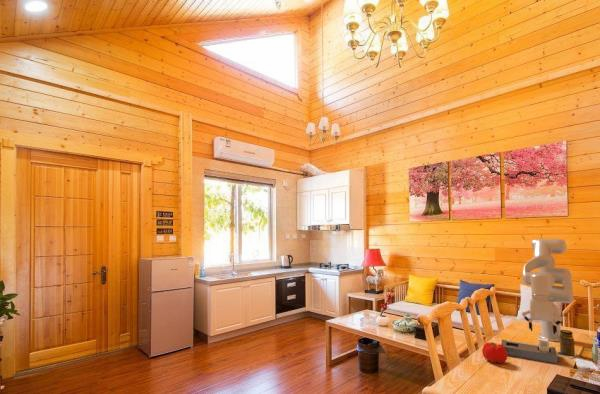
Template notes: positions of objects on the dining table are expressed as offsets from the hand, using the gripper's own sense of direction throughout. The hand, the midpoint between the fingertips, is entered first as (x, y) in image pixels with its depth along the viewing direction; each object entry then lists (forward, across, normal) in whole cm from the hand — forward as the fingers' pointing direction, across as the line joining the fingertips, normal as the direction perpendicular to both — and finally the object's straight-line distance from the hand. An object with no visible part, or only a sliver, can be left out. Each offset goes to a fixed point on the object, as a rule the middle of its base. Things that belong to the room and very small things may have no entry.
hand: (542, 331), depth 175 cm
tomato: (+14, +21, +19) cm, 31 cm away
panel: (+13, +7, -1) cm, 15 cm away
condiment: (+13, -10, -13) cm, 21 cm away
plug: (+13, 0, -1) cm, 13 cm away
